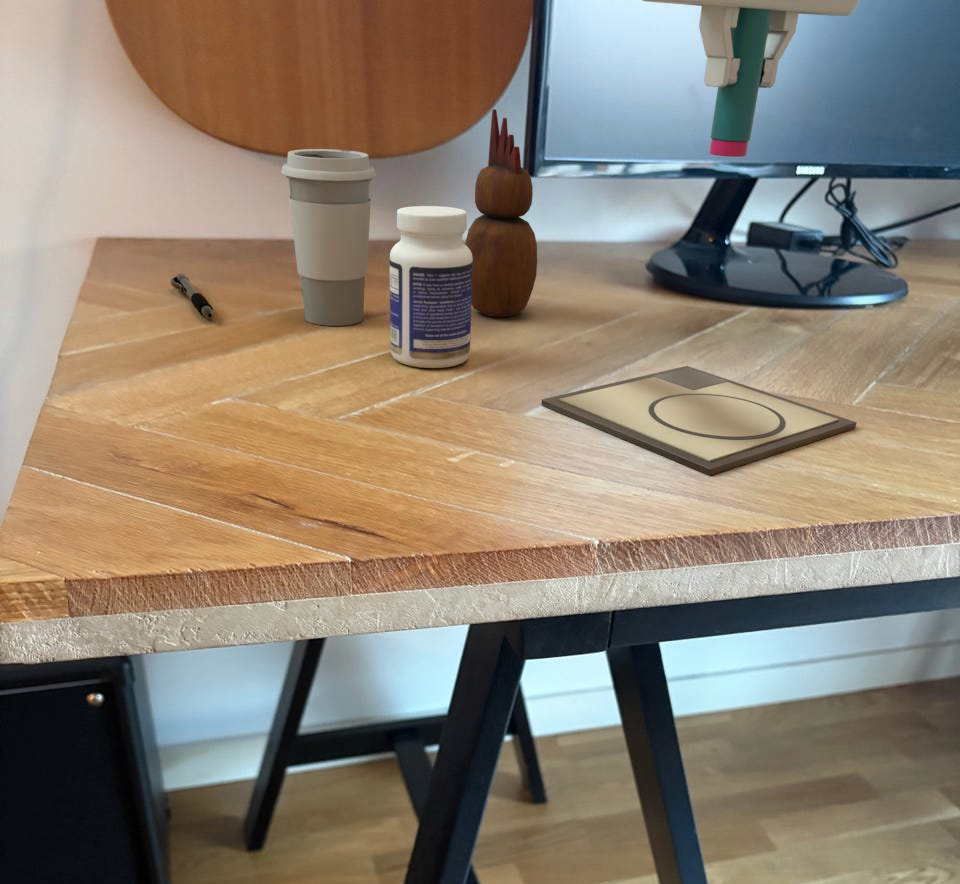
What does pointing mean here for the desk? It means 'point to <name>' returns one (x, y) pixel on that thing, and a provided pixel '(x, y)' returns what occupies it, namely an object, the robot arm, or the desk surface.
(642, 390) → the board
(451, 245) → the pill bottle
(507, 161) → the wooden figurine
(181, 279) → the pen
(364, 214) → the cup
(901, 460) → the desk surface
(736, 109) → the dot marker
